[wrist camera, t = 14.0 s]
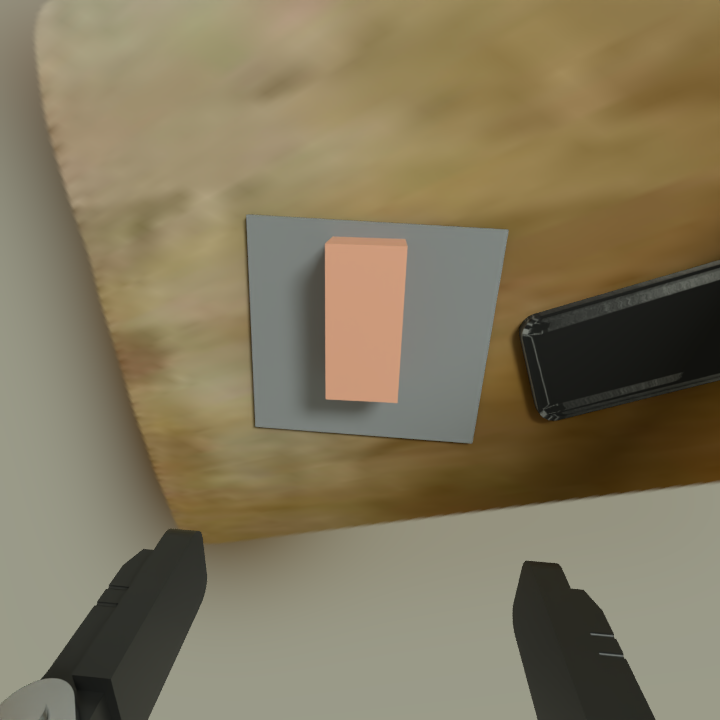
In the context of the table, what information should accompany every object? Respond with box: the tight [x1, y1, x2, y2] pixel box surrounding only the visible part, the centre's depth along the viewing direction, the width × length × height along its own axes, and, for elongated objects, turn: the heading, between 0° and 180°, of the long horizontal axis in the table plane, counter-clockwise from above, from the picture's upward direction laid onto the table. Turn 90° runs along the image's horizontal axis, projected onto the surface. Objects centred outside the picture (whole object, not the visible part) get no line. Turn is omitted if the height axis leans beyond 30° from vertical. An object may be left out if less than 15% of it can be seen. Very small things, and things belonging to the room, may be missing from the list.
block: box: [325, 237, 408, 403], centre depth 27 cm, size 4×4×10 cm
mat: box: [246, 215, 509, 443], centre depth 30 cm, size 16×15×1 cm
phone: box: [519, 260, 720, 421], centre depth 29 cm, size 8×1×15 cm
